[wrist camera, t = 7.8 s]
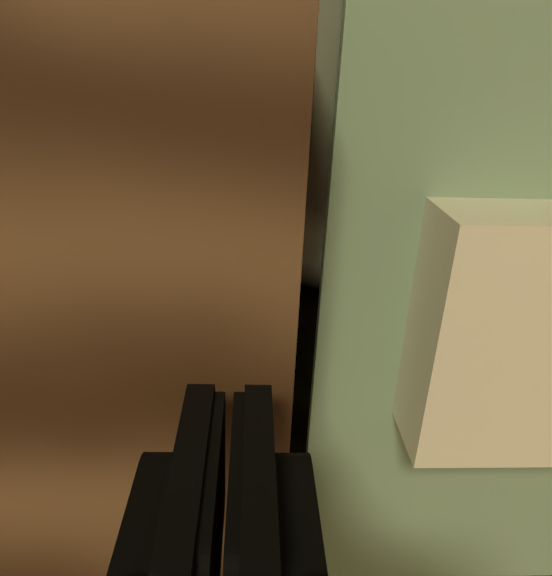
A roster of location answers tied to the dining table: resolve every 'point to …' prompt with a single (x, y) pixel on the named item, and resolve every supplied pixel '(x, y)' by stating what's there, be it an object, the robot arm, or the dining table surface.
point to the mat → (400, 271)
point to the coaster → (479, 337)
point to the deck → (140, 245)
